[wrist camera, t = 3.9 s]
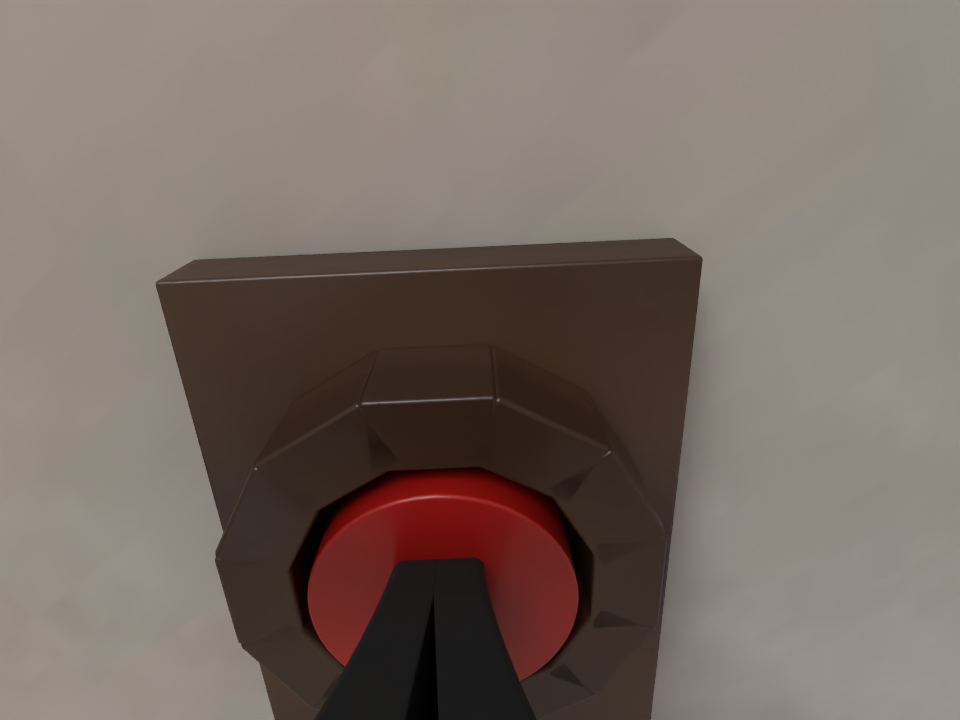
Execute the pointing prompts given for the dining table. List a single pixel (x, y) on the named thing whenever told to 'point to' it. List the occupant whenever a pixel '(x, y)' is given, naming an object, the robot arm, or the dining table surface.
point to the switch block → (445, 427)
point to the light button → (448, 555)
